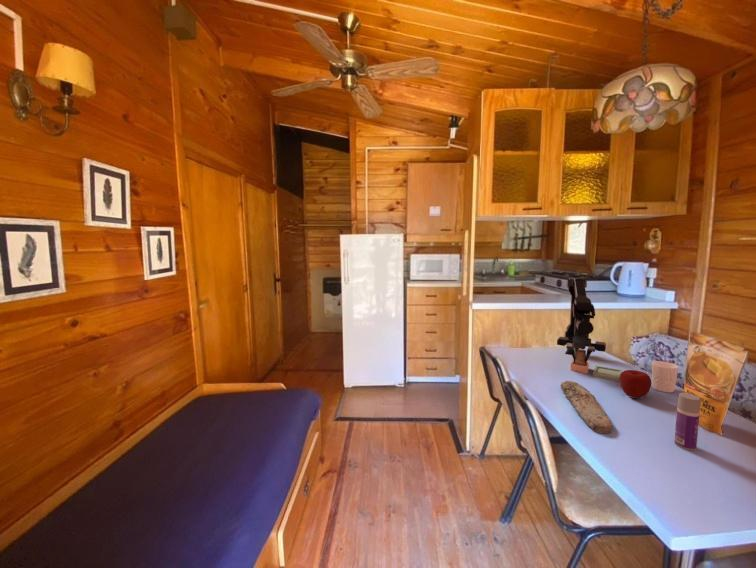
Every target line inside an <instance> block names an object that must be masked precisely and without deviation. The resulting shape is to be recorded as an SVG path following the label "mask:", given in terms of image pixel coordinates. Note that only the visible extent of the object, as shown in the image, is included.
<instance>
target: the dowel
mask: <svg viewBox="0 0 756 568" xmlns="http://www.w3.org/2000/svg"><path fill="white" fill-rule="evenodd" d="M586 354H587V349H576V354H575V364H577V365H583V366H585V359H586Z"/></svg>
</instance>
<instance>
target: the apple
mask: <svg viewBox="0 0 756 568" xmlns="http://www.w3.org/2000/svg"><path fill="white" fill-rule="evenodd" d="M619 383H620V387H621V389H622V391H623V392H624V394H625V395H626V396H628V397H629V398H632V399H641V398H644V397H645V396H646V395H648V394H649V392H650V390H651V388H652V377H650V375H649V374H647V373H646V372H644V371H641V370H636V369H626V370H622V373H621V374H620V381H619Z"/></svg>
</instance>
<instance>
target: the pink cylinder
mask: <svg viewBox="0 0 756 568" xmlns="http://www.w3.org/2000/svg"><path fill="white" fill-rule="evenodd" d="M678 372H679V366H678V365H676V364H674V363H672V362H668V361H661V360H660V361H658V360H655V361H652V362H651V382H652V383H651V388H653V389H654V390H656V391H659V392H662V393H663V392H664V393H674V392H675V391H676V389H675V388H676V383H677V377H678Z"/></svg>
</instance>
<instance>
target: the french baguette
mask: <svg viewBox="0 0 756 568" xmlns="http://www.w3.org/2000/svg"><path fill="white" fill-rule="evenodd" d="M560 389H561V391H562V393H563V395H565V397H564V398H565V399H567V400H568V401H569V403H570V404H571V405H572V407H573V409H574V410H575V412H576V413H577V414H578V416H579V417H580V418H581V419H582V421H583V423H585V425H587V427H589V428H590V429H592V431H595V432H597V433H601V434H605V435H607V434H610V433H612V430H613V426H612V421H611V419H610V418H609V416H608V414H607V413H606V412H605V411H604V410H603V408H602V407H601V405H600V403H599V402H598V401H597V399H596V397H595V395H594V394H592V392H591V391H589V390H588V389H587V388H586V387H585V386H583V385H581V384H579V383H578V382H575V381H573V380H572V381H571V380H565V381H563V382H561V383H560Z"/></svg>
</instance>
